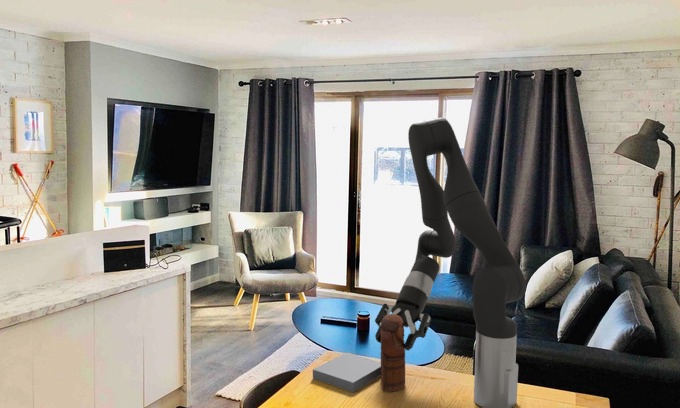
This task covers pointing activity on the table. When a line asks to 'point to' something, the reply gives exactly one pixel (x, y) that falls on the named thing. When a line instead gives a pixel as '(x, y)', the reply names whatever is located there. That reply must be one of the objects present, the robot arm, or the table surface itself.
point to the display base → (348, 372)
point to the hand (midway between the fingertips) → (391, 345)
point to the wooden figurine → (392, 353)
